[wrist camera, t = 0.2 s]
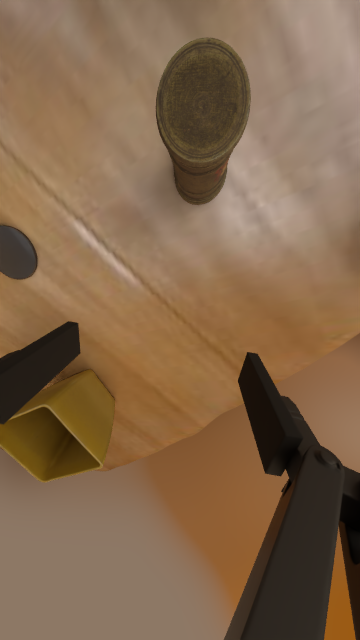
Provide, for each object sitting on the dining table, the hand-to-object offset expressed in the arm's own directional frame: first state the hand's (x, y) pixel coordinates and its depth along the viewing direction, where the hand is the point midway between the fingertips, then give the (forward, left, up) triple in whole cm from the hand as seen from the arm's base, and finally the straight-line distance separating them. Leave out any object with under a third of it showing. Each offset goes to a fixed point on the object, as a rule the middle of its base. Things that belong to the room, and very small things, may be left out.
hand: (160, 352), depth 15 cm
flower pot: (+36, -23, -28) cm, 51 cm away
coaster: (0, -38, -28) cm, 47 cm away
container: (-19, 0, -28) cm, 34 cm away
